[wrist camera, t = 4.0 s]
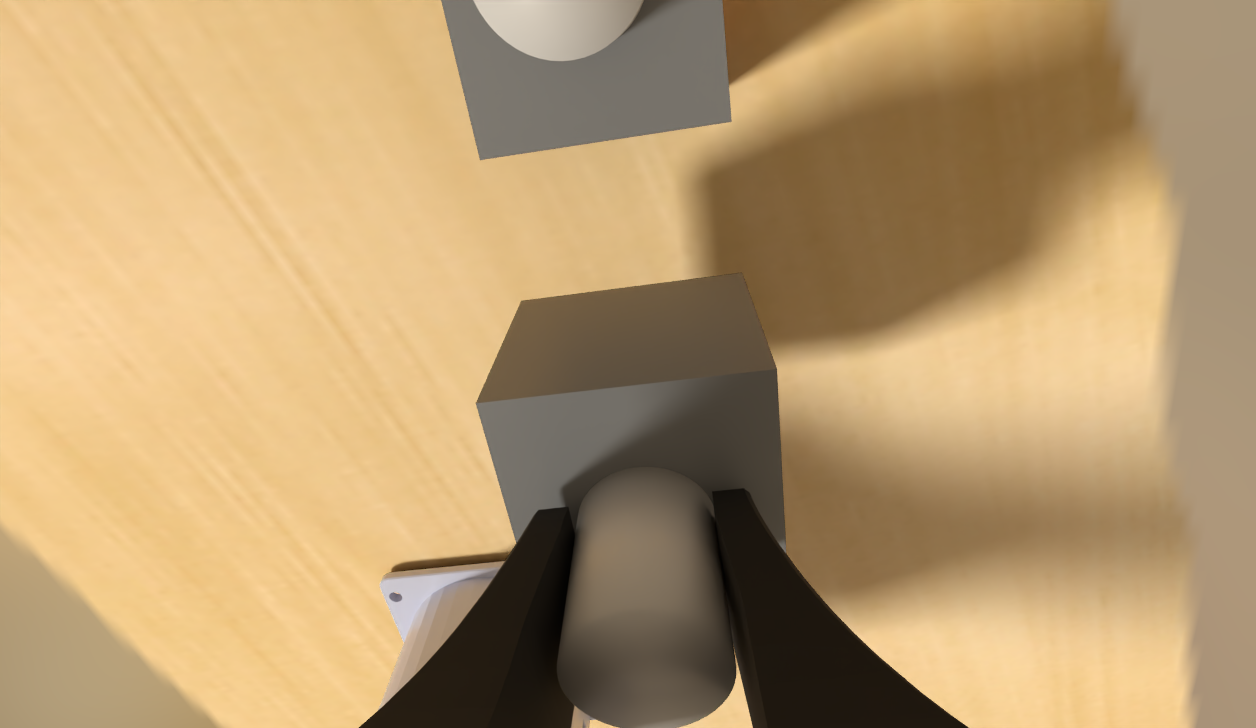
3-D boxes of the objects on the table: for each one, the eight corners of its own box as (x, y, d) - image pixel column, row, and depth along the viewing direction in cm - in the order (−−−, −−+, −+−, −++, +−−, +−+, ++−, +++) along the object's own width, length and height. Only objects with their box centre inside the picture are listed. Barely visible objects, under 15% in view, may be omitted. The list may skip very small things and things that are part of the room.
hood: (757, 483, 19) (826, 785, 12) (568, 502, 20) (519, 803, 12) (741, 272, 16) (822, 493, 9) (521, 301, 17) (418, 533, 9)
